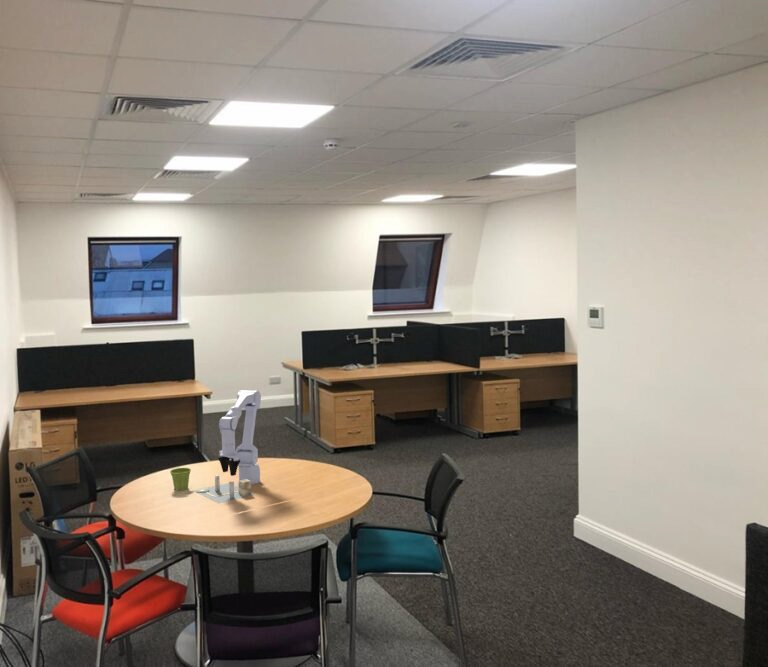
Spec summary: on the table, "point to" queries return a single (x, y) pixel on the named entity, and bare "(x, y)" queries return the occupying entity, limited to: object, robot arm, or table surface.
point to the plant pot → (180, 478)
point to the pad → (202, 490)
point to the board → (223, 492)
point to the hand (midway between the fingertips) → (229, 473)
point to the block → (244, 487)
